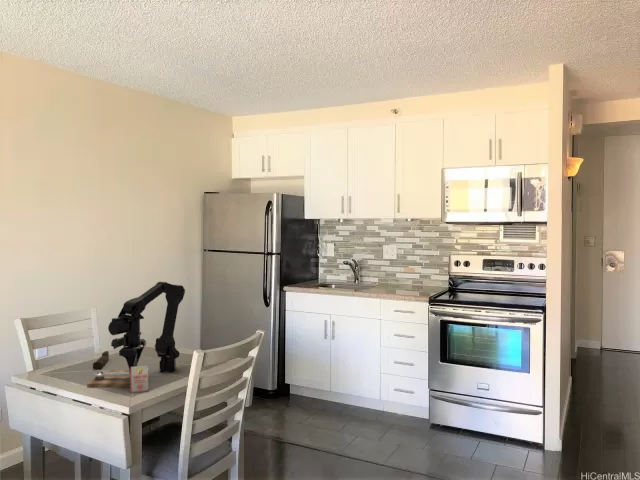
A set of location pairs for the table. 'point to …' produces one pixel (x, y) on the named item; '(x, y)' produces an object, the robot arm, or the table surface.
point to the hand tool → (101, 361)
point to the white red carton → (139, 379)
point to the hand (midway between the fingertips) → (133, 367)
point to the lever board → (110, 380)
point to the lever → (113, 373)
